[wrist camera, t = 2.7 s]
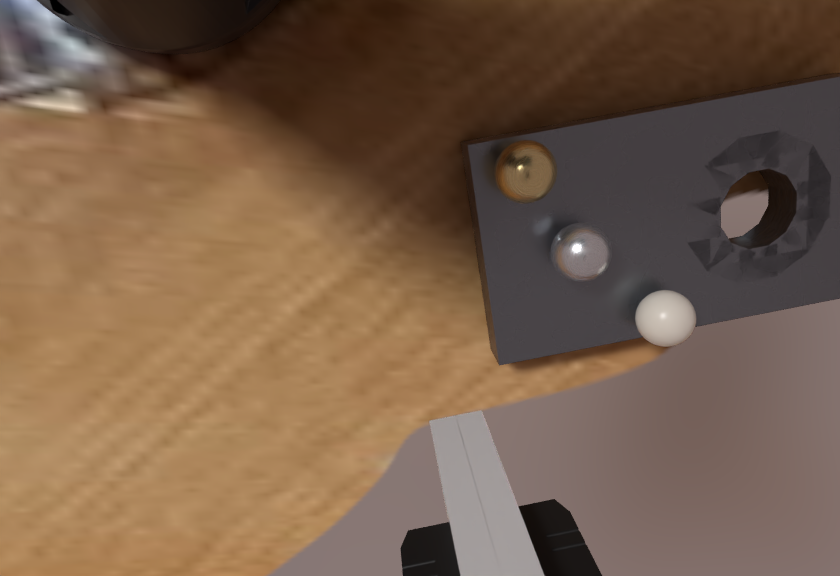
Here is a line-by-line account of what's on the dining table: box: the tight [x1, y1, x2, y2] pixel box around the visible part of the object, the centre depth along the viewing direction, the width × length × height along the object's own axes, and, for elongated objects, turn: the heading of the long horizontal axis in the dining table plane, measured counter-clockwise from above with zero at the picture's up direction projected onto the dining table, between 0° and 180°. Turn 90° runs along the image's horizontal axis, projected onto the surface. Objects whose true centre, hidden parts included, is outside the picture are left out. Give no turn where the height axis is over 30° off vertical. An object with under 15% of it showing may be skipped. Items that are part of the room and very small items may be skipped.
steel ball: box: [550, 223, 612, 282], centre depth 32 cm, size 3×3×3 cm
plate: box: [461, 73, 840, 365], centre depth 35 cm, size 22×13×2 cm, turn 100°
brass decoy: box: [494, 140, 557, 204], centre depth 31 cm, size 3×3×3 cm
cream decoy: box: [635, 290, 696, 347], centre depth 34 cm, size 3×3×3 cm
